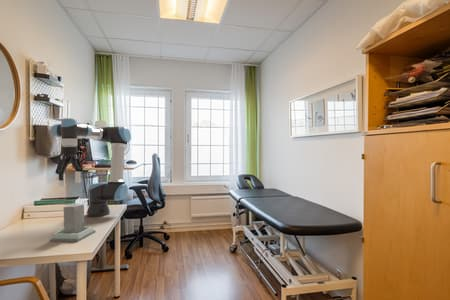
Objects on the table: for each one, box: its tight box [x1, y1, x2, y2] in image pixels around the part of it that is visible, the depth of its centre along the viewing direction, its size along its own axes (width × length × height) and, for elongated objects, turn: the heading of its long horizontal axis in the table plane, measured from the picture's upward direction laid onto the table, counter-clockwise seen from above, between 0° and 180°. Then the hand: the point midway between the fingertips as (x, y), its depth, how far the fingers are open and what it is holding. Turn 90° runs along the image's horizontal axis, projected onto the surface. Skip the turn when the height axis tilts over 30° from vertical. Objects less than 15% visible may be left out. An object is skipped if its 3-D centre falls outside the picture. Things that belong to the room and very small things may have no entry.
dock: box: [49, 226, 96, 243], centre depth 140 cm, size 16×15×4 cm
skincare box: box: [63, 203, 86, 234], centre depth 140 cm, size 8×7×16 cm
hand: (70, 184), depth 144 cm, fingers open, 13 cm apart
